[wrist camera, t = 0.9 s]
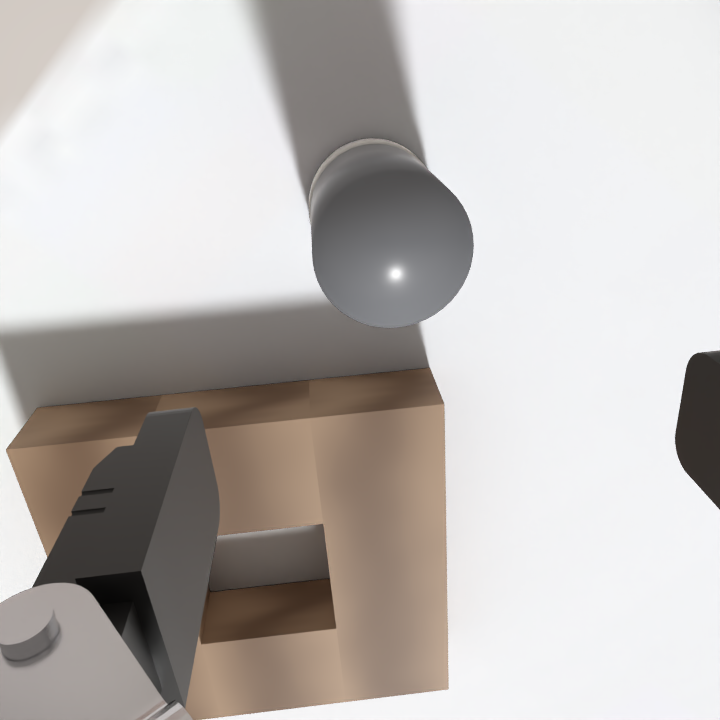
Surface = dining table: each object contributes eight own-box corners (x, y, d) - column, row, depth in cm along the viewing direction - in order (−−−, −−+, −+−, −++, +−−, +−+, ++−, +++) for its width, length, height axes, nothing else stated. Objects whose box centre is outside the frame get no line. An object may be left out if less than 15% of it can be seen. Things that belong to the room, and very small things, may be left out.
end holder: (429, 367, 26) (444, 404, 23) (436, 637, 33) (448, 689, 30) (37, 407, 25) (5, 450, 23) (130, 674, 32) (114, 730, 30)
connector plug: (430, 131, 22) (476, 160, 16) (433, 256, 24) (474, 321, 18) (301, 142, 22) (301, 175, 16) (315, 267, 24) (319, 336, 18)
